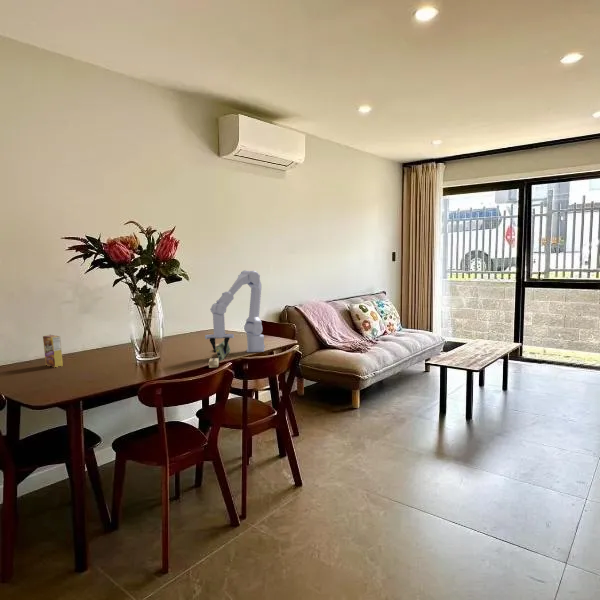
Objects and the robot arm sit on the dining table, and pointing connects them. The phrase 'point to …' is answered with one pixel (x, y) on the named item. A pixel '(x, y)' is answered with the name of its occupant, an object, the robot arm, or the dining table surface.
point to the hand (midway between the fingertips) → (220, 352)
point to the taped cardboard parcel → (214, 361)
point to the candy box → (52, 350)
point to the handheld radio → (222, 350)
